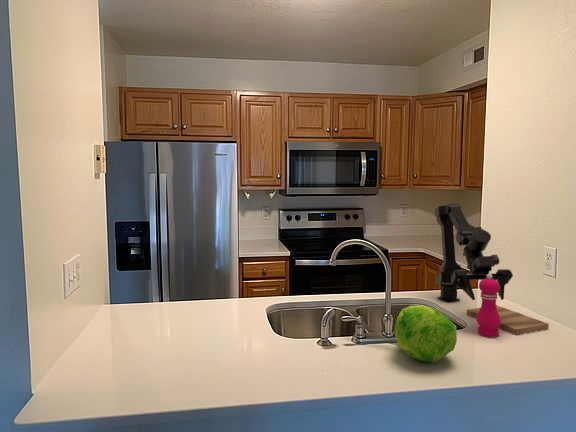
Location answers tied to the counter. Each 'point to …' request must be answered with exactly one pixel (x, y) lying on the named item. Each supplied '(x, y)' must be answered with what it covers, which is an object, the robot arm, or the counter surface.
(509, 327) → the walnut board
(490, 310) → the pepper mill
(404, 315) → the lettuce
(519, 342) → the counter surface
